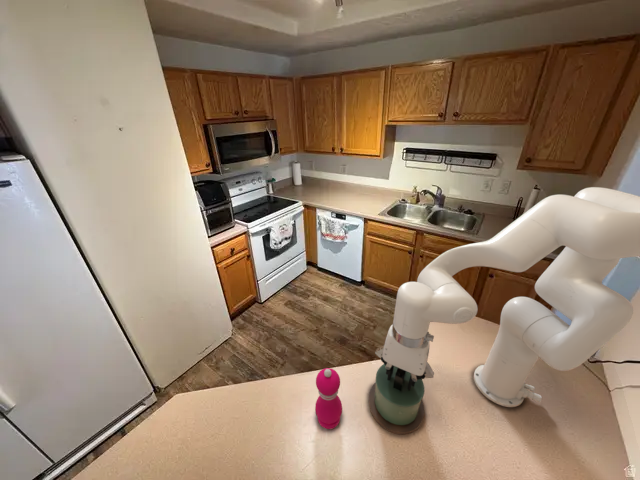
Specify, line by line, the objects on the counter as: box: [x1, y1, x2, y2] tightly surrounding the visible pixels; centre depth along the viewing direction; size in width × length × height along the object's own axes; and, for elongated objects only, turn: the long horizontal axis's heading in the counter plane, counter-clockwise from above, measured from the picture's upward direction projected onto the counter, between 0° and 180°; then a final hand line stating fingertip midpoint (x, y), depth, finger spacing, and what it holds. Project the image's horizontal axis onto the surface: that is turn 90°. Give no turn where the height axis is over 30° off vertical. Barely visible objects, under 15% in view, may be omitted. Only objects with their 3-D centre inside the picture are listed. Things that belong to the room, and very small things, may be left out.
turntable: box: [368, 381, 425, 435], centre depth 73 cm, size 15×15×1 cm
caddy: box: [374, 363, 425, 425], centre depth 69 cm, size 12×12×15 cm
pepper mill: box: [314, 367, 343, 430], centre depth 66 cm, size 7×7×20 cm
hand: (399, 380), depth 68 cm, fingers open, 4 cm apart
